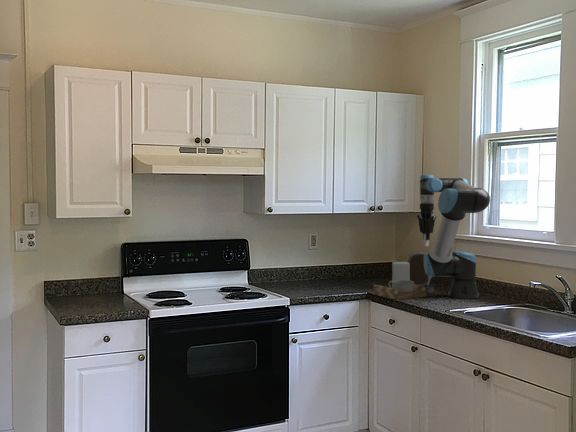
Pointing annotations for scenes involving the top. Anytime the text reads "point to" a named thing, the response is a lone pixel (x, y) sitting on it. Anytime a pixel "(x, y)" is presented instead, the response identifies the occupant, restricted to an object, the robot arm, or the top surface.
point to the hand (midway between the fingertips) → (426, 245)
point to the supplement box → (400, 271)
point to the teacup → (402, 285)
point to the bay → (393, 293)
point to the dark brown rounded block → (418, 269)
